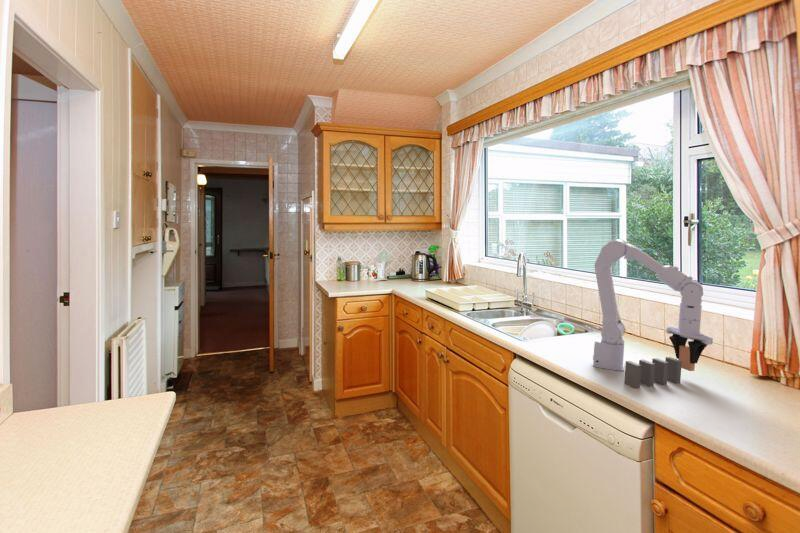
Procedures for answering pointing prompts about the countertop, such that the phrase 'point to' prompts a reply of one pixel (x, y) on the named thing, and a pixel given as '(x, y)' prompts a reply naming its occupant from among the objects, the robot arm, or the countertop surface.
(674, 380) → the domino
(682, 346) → the domino
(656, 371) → the domino
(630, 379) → the domino
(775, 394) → the countertop surface
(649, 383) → the domino
